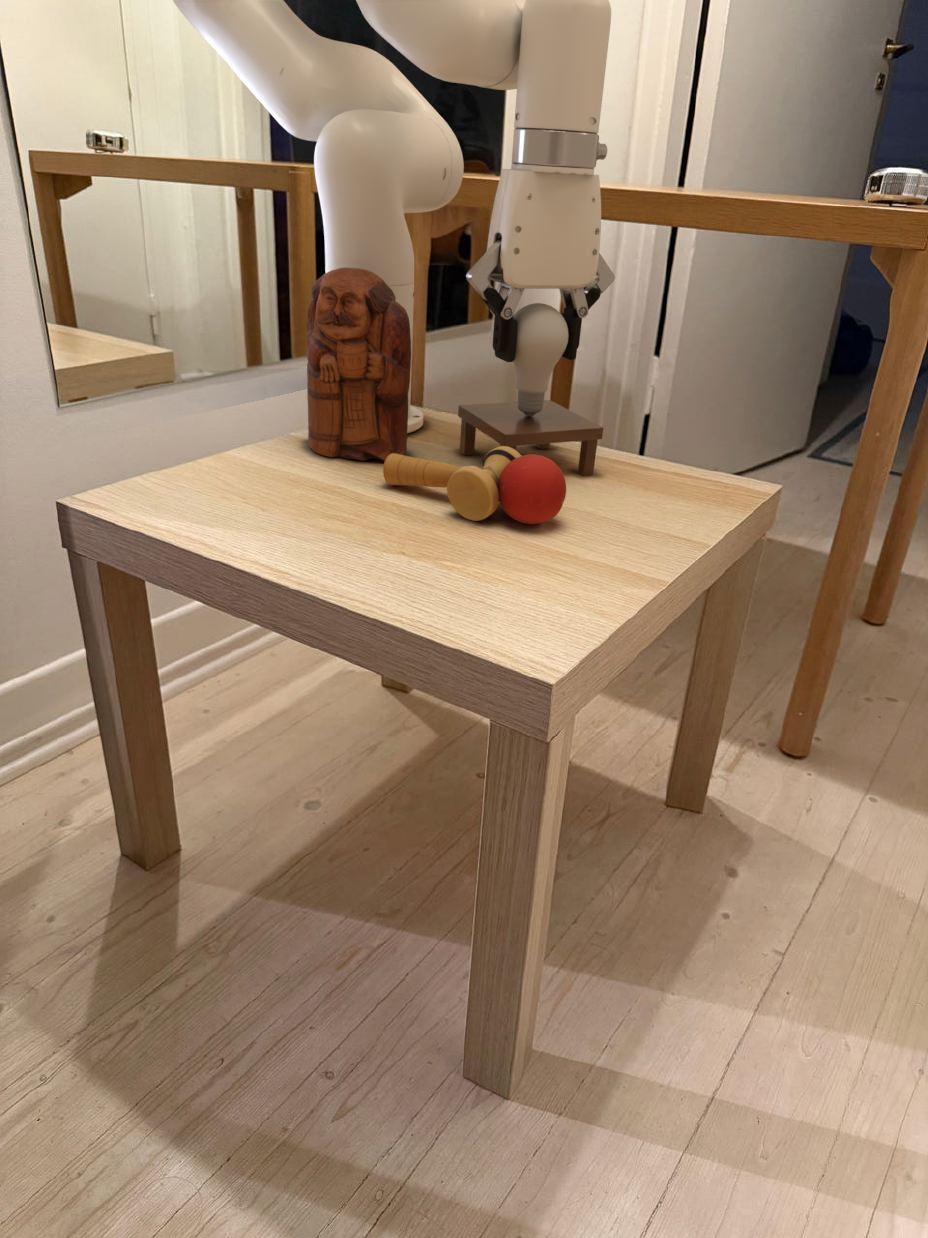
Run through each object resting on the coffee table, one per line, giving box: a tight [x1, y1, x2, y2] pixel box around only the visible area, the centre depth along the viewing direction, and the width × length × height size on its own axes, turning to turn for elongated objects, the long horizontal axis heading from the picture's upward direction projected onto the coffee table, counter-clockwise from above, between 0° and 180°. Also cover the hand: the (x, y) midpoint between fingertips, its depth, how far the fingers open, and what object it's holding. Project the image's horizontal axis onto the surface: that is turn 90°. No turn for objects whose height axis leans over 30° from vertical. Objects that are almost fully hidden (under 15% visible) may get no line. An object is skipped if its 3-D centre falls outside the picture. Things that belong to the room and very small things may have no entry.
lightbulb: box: [513, 302, 569, 416], centre depth 90 cm, size 6×6×11 cm
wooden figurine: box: [305, 268, 411, 462], centre depth 91 cm, size 12×6×18 cm, turn 75°
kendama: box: [382, 446, 567, 525], centre depth 82 cm, size 8×6×18 cm
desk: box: [457, 399, 604, 476], centre depth 94 cm, size 11×11×5 cm
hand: (535, 356), depth 90 cm, fingers closed on lightbulb, 6 cm apart
